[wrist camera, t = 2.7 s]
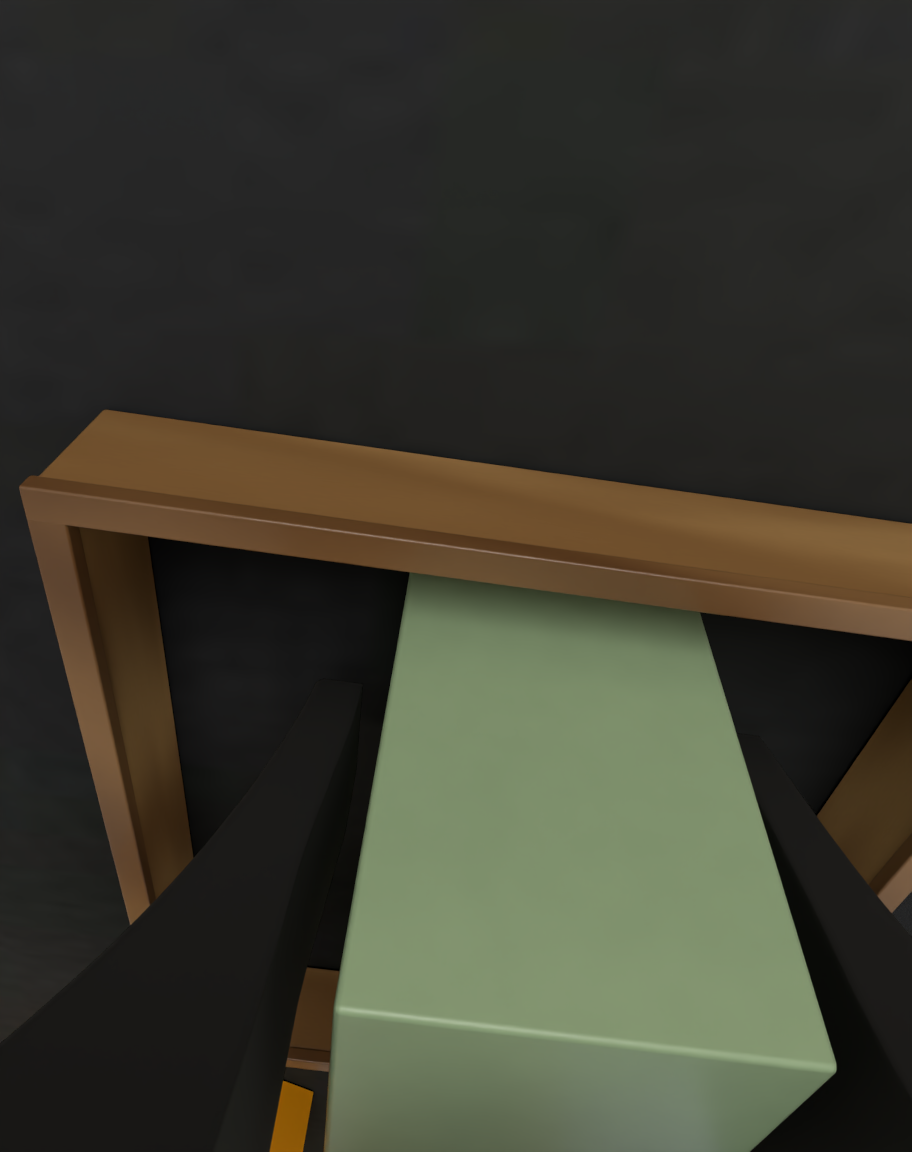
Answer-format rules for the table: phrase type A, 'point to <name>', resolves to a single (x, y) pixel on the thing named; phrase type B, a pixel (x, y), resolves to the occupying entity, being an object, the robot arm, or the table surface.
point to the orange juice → (291, 1119)
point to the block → (564, 896)
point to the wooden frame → (432, 547)
